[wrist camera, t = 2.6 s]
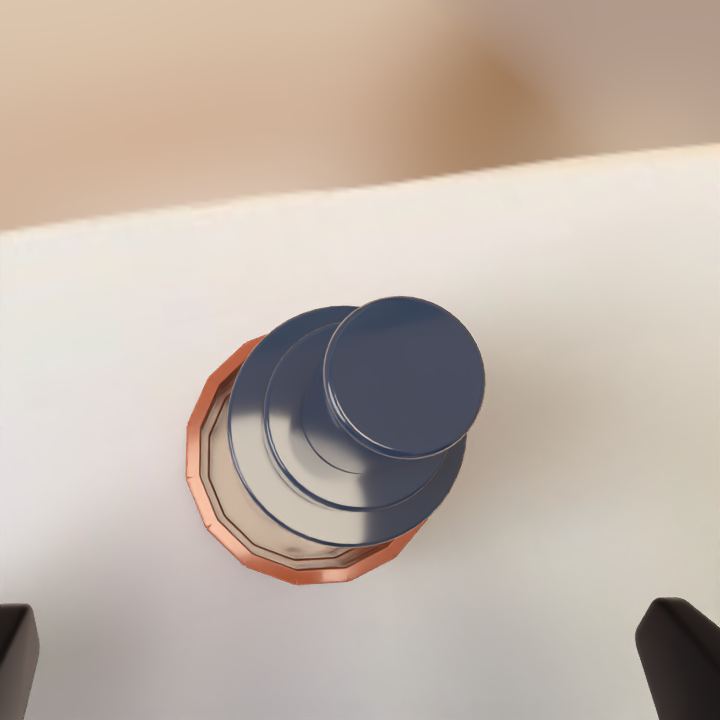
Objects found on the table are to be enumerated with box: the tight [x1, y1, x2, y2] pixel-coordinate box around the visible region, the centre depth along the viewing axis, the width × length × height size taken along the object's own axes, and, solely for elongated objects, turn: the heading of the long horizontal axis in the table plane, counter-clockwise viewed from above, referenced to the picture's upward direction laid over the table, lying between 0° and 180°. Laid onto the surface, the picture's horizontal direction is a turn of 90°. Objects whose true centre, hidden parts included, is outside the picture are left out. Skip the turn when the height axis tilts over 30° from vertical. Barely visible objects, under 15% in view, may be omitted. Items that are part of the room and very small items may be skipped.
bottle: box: [227, 296, 485, 548], centre depth 13 cm, size 4×4×12 cm
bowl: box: [186, 334, 428, 585], centre depth 18 cm, size 7×7×4 cm
